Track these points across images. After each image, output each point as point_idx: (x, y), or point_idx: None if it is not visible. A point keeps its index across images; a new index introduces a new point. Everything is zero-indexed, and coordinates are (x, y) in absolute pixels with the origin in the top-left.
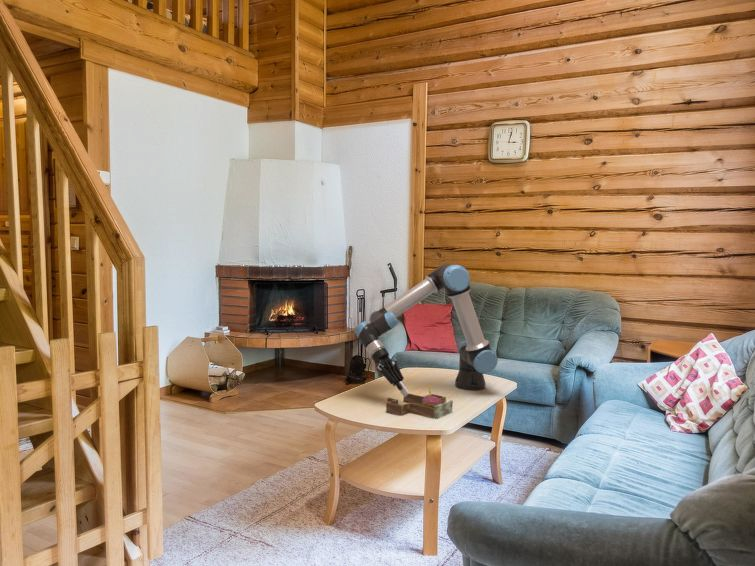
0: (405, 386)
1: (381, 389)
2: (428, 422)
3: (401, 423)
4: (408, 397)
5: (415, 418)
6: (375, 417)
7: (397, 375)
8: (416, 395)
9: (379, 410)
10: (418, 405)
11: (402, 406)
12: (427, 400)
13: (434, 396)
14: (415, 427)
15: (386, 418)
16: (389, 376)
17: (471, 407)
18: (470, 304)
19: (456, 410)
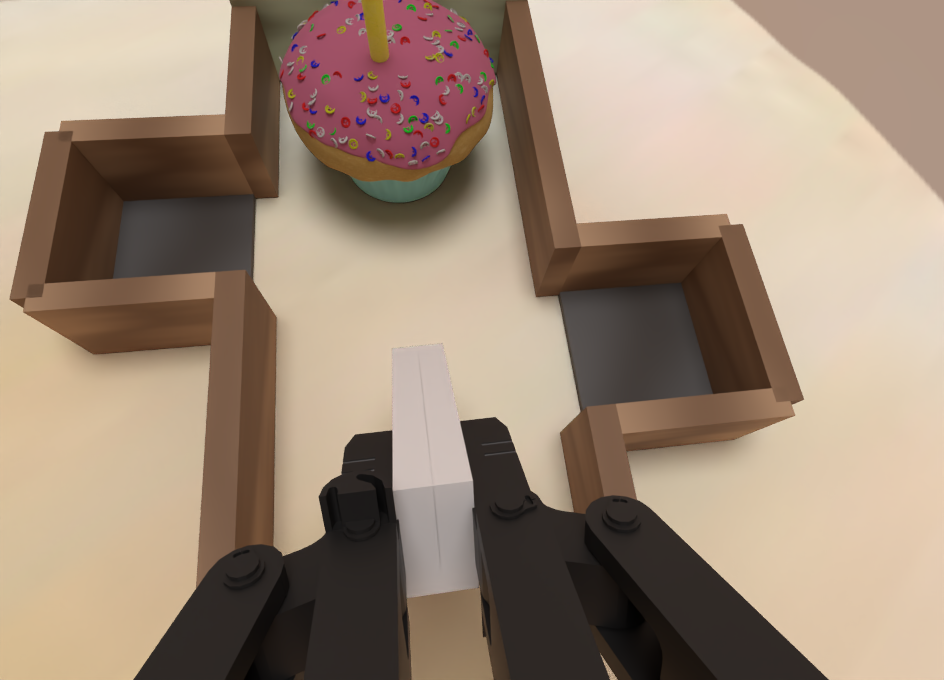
0: (347, 445)
1: None
2: (618, 51)
3: (808, 150)
4: (253, 521)
5: (631, 154)
6: (924, 382)
7: (391, 651)
8: (226, 388)
9: (764, 528)
10: (555, 135)
11: (711, 217)
12: (476, 53)
13: (362, 16)
14: (771, 49)
15: (846, 299)
16: (776, 654)
17: (7, 40)
18: None
19: (184, 71)
